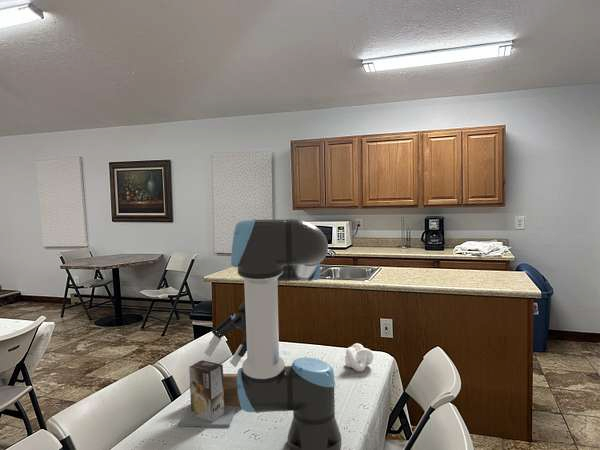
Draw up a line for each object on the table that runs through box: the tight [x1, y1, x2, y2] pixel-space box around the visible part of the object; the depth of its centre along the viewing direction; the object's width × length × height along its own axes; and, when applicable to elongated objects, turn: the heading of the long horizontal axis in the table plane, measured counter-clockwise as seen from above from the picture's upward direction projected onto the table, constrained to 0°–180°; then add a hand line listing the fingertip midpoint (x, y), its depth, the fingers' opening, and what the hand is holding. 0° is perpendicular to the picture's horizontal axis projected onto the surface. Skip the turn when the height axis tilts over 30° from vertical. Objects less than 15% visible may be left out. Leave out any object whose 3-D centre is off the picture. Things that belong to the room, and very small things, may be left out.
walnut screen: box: [223, 373, 241, 406], centre depth 141 cm, size 2×19×10 cm, turn 88°
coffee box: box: [188, 359, 225, 422], centre depth 132 cm, size 9×6×16 cm
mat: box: [177, 405, 237, 428], centre depth 132 cm, size 11×16×1 cm
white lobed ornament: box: [344, 342, 375, 373], centre depth 169 cm, size 11×12×9 cm
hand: (219, 359), depth 135 cm, fingers open, 13 cm apart
